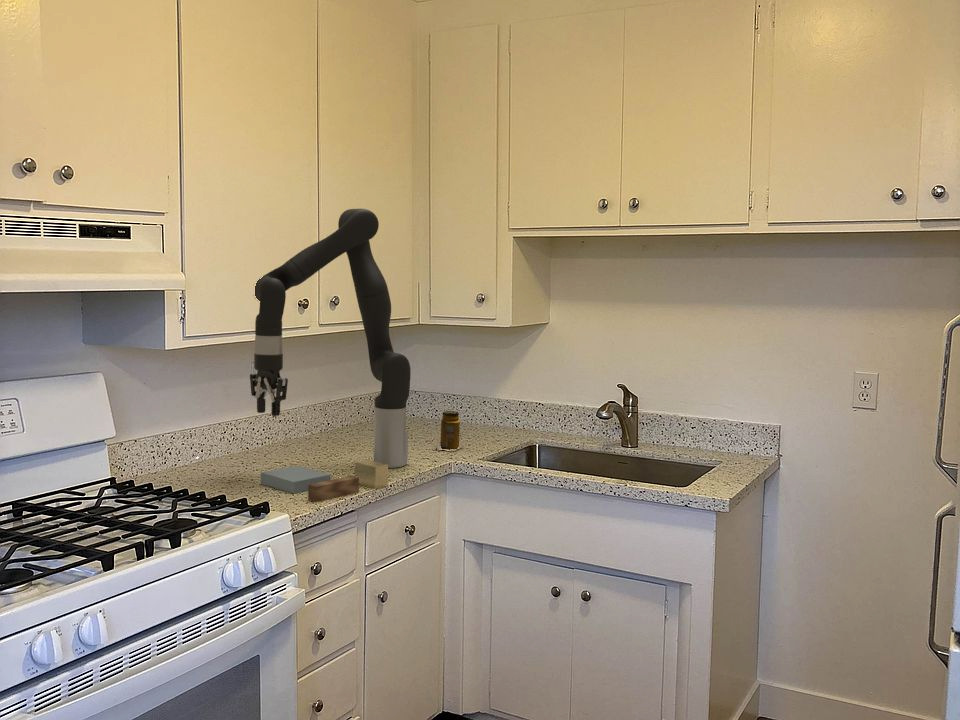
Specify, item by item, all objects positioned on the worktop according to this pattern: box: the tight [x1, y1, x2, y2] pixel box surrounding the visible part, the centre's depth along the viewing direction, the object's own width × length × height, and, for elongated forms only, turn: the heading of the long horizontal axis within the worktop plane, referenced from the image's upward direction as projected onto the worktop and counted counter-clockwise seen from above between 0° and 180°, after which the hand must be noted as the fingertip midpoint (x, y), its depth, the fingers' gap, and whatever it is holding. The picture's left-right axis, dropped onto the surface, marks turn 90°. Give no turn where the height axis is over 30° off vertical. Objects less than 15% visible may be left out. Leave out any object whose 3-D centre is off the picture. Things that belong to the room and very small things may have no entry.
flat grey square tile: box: [260, 465, 332, 494], centre depth 237 cm, size 12×14×3 cm
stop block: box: [307, 475, 360, 503], centre depth 226 cm, size 14×3×4 cm, turn 139°
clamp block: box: [354, 459, 389, 489], centre depth 239 cm, size 4×8×6 cm, turn 50°
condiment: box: [432, 410, 461, 451], centre depth 289 cm, size 7×8×12 cm
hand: (268, 413), depth 243 cm, fingers open, 5 cm apart
